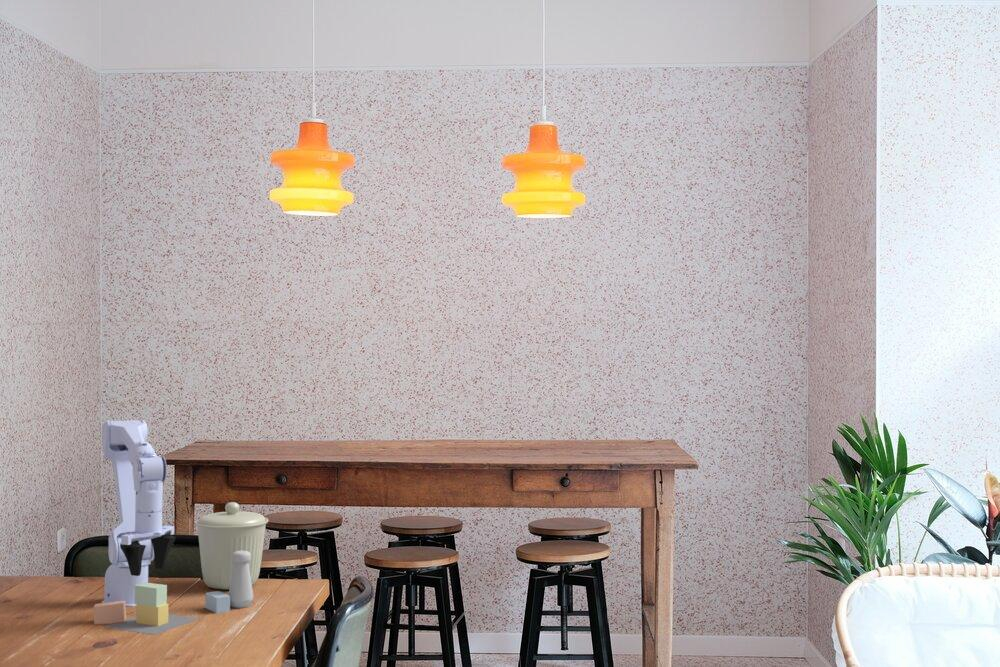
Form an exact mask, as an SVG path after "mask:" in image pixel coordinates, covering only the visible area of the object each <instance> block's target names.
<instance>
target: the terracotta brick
mask: <svg viewBox="0 0 1000 667" xmlns="http://www.w3.org/2000/svg"><path fill="white" fill-rule="evenodd" d="M126 611H127V610H126V605H125V601H116V602H108V603H102V602H101V603H95V604H94V605H93V620H94V621H93V622H94V625H103V624H104V625H105V624H106V625H107V624H108V625H110V624H114V623H119V622H124V621H125V620H126V619H127V613H126Z"/></svg>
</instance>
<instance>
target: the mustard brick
mask: <svg viewBox="0 0 1000 667" xmlns="http://www.w3.org/2000/svg"><path fill="white" fill-rule="evenodd" d="M135 606H136V609H135V612H136V613H135V615H136V623H140V624H147V625H154V626H160V625H162V624H165V623H168V614H169V610H170V609H169V603H167V604H164V605H161V606H158V607H152V606H145V605H138V604H136V605H135Z"/></svg>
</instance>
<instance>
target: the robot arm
mask: <svg viewBox="0 0 1000 667" xmlns="http://www.w3.org/2000/svg"><path fill="white" fill-rule="evenodd" d="M148 430H149V429H148V424H147V422H146V421H145V419H139V420H138V419H137V420H136V419H134V420H131V419H130V420H105V421H104V422H103V423H102V426H101V435H100V436H101V438H100V439H101V446H102V453H103V456H104V458H105V459H107V460H109V461H110V463H111V465H112V469H113V476H114V484H115V485H114V486H115V492H116V493H115V495H116V502H117V503H116V505H117V512H118V520H119V522H118V523H119V525H117V526H116V527H115V528H114V529H112V530H111V532H110V533H109V536H108V548H107V549H108V550H107V552H108V559H109V562H110V563H111V564H110V565H109V566H108V567H107V569H106V571H105V573H104V596H103V597H104V600H102V601H101V603H108V602H116V601H125V607H127V606H128V607H134V606H136V604H135V585H138V584H142V583H145V582H146V583H149V565H151V562H153V561H154V562H153V564H154V567H155V568H154V569H156V570H157V569H158V570H164V569H165V567H166V563H167V561H168V560H167V559H168V556H169V554H170V551H171V549H172V546H173V545H174V543H175V541H176V536H175V525H169V524H167V525H163V491H164V490H163V489H164V488H163V487H164V482H165V481H166V478H167V474H168V473H167V471H168V470H167V460H166V458H165V456H164V455H159V456H158V455H157V454H156V451H155V450H154V447H153V446H152V444H150V443H149V442H148V441H147V440H148ZM173 535H174V536H173Z"/></svg>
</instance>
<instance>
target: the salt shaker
mask: <svg viewBox="0 0 1000 667" xmlns="http://www.w3.org/2000/svg"><path fill="white" fill-rule="evenodd" d="M250 560H251V554H250V552H248V551H236V552H234V553H233V554H232V561H233V562H235V563H234V568H233V573H232V579H231V584H230V589H229V591H228V594H227V595H229V596H230V608H234V609H235V608H236V609H244V608H250V607H251V605H252V602H253V601H254V590H253V585H252V584H251V577H250V571H249V564H248V562H249V561H250ZM249 606H250V607H249Z"/></svg>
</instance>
